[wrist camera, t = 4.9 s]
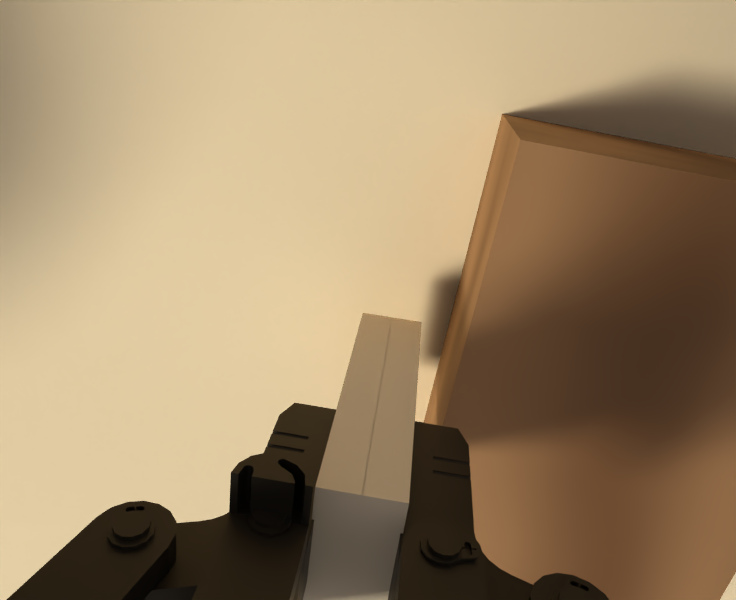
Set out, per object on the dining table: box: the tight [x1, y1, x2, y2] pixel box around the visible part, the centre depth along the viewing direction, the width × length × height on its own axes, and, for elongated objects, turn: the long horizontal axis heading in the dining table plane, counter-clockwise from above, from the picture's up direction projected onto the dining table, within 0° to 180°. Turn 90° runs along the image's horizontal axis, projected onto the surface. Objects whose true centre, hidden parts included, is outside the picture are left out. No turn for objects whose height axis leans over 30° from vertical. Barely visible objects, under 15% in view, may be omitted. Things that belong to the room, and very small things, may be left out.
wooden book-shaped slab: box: [424, 114, 736, 600], centre depth 16 cm, size 8×12×4 cm, turn 170°
